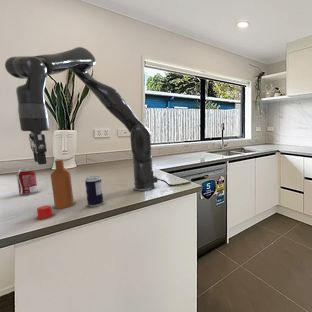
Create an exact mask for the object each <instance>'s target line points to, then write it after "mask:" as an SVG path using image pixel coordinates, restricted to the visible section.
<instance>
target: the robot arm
mask: <svg viewBox="0 0 312 312" xmlns="http://www.w3.org/2000/svg"><path fill="white" fill-rule="evenodd" d="M96 61H97V60H96V57H95V55H94V54H93V53H92V51H90V50H89V49H87V48H85V47H82V46H77V47H74V48H73V49H68V50H65V51H60V52H56V53H48V54H38V55H25V56H24V55H22V56H17V55H16V56H10V57H8V58H7V59H6V60H5V62H4V68H5V70H6V72H7V73H8V74H9V75H10V76H12V77H13V78H16V79H19V80H26V81H25V83H24V84H22V85H17V86H16V89H15V94H16V100H17V114H18V119H19V127H20V130H21V132H30V133H29V134H28V141H29V146H30V150H31V151H32V153H33V160H34V162H35V163H37V164H38V165H39V166H41V165H47V163H48V161H47V157H46V156H47V155H46V153H47V151H48V150H47V143H46V136H45V134H44V133H43V132H45V131H47V132H48V131H50V122H49V116H48V115H49V114H48V109H47V106H46V101H45V88H46V83H47V78H48V76H51V75H52V76H53V75H58V74H61V73H64V72H66V71H68V70H70V71H71V72H72V73H73V75H75V76H76V77H77V79H79V80H80V81H81V82H82V83H83V84H84V85H85V86H86V87H87V88H88V89H89V90H90V91H91V92H92V94H93V95H94V96H95V97H96V98H97V100H99V102H100V103H101V104H102V106H103V107H105V109H106V110H107V111H108V112H109V113H110V114H111V115H112V116H113V117H115V118H116V119H117V120H118V121H119V122H120V123H122V124H123V126H124V127H125V128H126V129H127V130H128V132H129V134H130V135H129V136H130V137H129V138H130V148H131V149H130V150H131V154H132V165H133V166H132V167H133V181H134V182H133V185H134V190H135V191H138V192H139V191H140V192H142V191H143V192H145V191H149V190H153V189H155V183H158V182H159V181H161V182H163V183H165V184H166V185H167V186H169V187H177V186H182V185H188V184H191V183H192V181H186V182H181V183H175V184H171V183H169V182H168V181H166V180H165V179H161V178H158V176H157V175H154V170H153V153H152V143H151V135H152V134H151V130H150V129H149V128H148V127H147V125H145V124H144V123H143V122H142V121H141V120H140V119H139V118H138V117H137V116H136V115H135V113H134V112H133V110H132V109H131V108H130V106H129V105H128V103H127V102H126V100H125V99H124V98H123V96H122V95H121V94H120V93H119V92H118V91H117V89H115V88H114V87H113V86H110V85H107V84H105V83H103V82H100V81H99V80H96V79H95V78H94V77H93V76H92V75H91V74H90V73H89V72H88V71H89V70H91V69H92V68H93V67H94V66H95V64H96Z"/></svg>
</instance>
